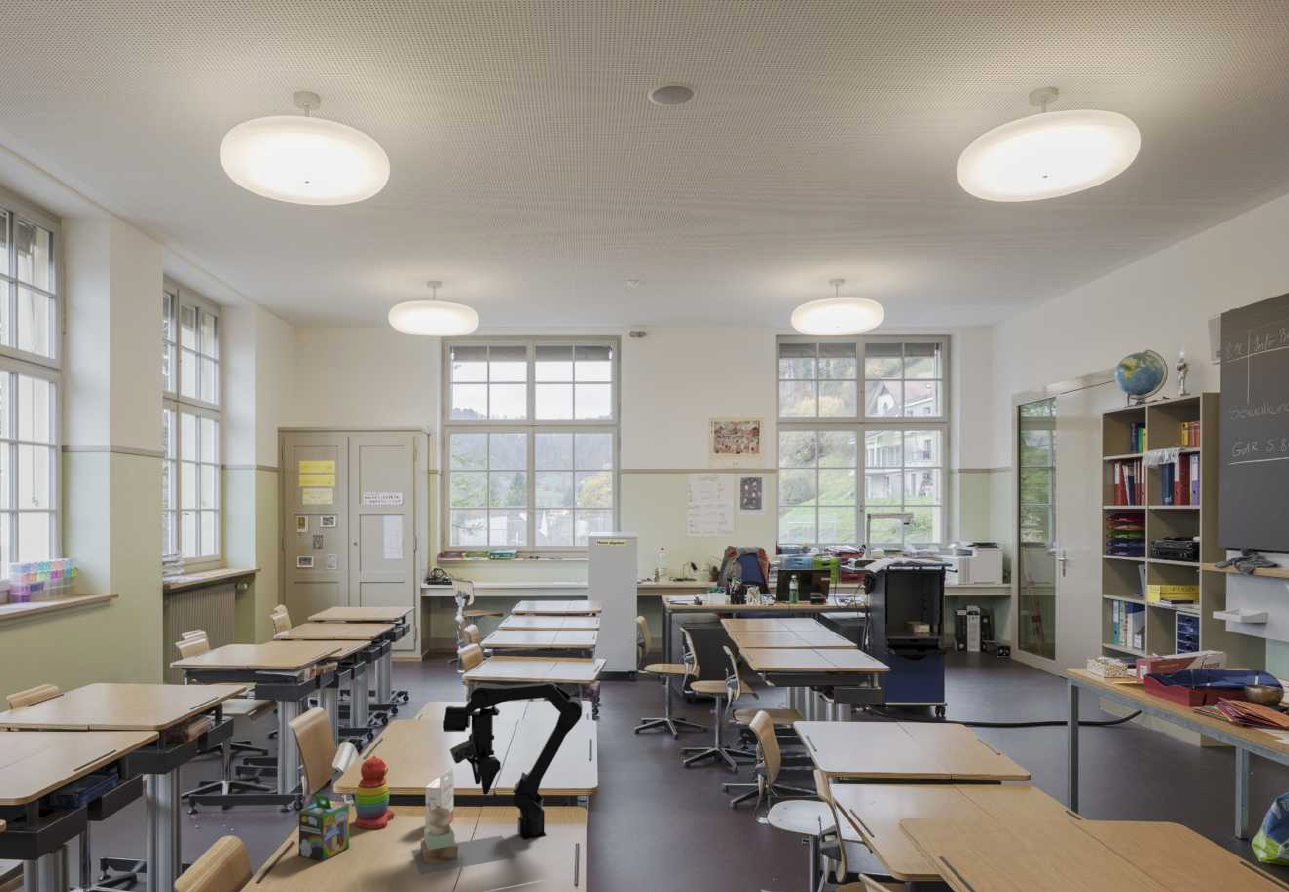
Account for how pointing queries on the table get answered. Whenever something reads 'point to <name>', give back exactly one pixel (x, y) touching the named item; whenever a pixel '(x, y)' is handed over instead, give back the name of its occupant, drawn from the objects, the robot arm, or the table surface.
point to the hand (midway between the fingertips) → (481, 789)
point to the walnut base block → (438, 853)
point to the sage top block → (438, 840)
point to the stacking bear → (373, 796)
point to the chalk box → (323, 829)
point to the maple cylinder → (439, 821)
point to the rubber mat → (469, 854)
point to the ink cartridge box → (440, 795)
